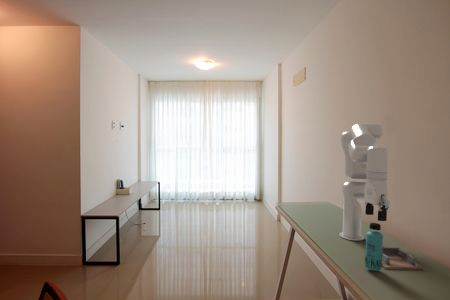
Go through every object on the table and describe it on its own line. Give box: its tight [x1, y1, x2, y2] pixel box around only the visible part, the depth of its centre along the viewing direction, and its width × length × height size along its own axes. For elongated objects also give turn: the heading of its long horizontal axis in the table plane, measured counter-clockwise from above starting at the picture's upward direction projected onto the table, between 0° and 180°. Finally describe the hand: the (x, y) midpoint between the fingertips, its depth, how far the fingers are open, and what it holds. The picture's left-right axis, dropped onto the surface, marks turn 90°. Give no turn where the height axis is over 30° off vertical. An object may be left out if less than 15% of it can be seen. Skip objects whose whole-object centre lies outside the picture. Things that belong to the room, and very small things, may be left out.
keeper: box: [382, 246, 424, 271], centre depth 123 cm, size 16×16×4 cm
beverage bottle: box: [364, 222, 384, 272], centre depth 113 cm, size 6×7×20 cm
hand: (375, 217), depth 113 cm, fingers open, 9 cm apart
